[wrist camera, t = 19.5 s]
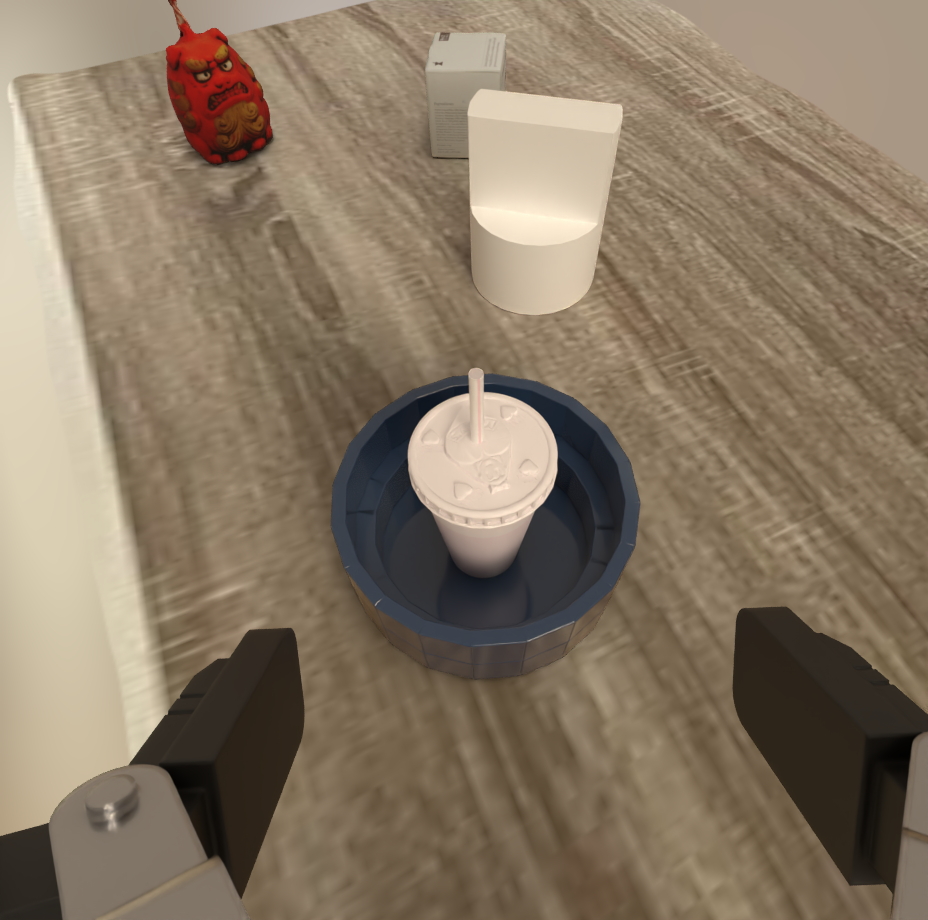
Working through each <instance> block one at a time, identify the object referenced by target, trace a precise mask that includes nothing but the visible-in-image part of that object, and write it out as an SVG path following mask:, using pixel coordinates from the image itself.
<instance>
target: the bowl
mask: <svg viewBox="0 0 928 920" xmlns="http://www.w3.org/2000/svg"><path fill="white" fill-rule="evenodd" d="M484 392H491V393H498V394H503V395H507V396H510V397H513V398H516V399H518V400H520V401H522V402H524V403H526V404H527V405H529V406H530V407H532V408H533V409H534V410H536V411H537V412H538V413H539V414H540V415H541V416H542V417H543V418H544V420H545V421H546V422H547V423H548V425H549V427H550V428H551V430H552V432H553V435H554V437H555V440H556V444H557V452H558V458H557V474H556V478H555V482H554V486H553V488H552V490H551V492H550V493H549V495H548V496H547V498H546V500H545V501H544V503H543V504H542V505H541V506H539V507H538V508H537V509H536V510H535V512H534V514H533V517H532V519H531V521H530V524H529V526H528V529H527V531H526V533H525V536H524V538H523V540H522V543H521V545H520V548H519V550H518V552H517V555H516V557H515V559H514V561H513V563H512V564H511V566H510V567H509V568H508V569H507V570H506V571H504V572H503V573H501V574H499V575H497V576H494V577H490V578H477V577H473V576H470V575H468V574H466V573H464V572H463V571H461V570H460V569H459V568H458V567H457V566H456V564H455V563H454V561H453V559H452V557H451V555H450V553H449V550H448V548H447V546H446V544H445V541H444V539H443V537H442V535H441V532H440V530H439V528H438V525H437V523H436V521H435V519H434V516H433V514H432V512H431V511H430V510H429V509H428V508H427V507H426V506H425V505H424V504H423V503H422V502H421V501H420V499H419V497H418V496H417V494H416V492H415V490H414V489H413V487H412V484H411V480H410V475H409V471H408V466H409V464H408V447H409V442H410V439H411V436H412V433H413V431H414V430H415V428H416V426H417V425H418V423H419V422H420V420H421V419H422V418H423V417H424V416H425V415H426V414H427V413H428V412H429V411H430V410H431V409H433V408H434V407H435V406H437V405H438V404H440V403H442V402H444V401H446V400H448V399H450V398H453V397H456V396H459V395H463V394H468V393H469V375H466V376H452V377H449V378H446V379H443V380H440V381H437V382H434V383H431V384H428V385H425V386H422V387H419V388H416V389H413V390H411V391H409V392H407V393H406V394H404V395H403V396H401V397H400V398H398V399H397V400H395V401H394V402H392V403H391V404H389V405H388V406H386V407H384V408H383V409H381V410H380V411H378V412H377V413H375V414H374V415H373V417H372V418H371V419H370V420H369V421H368V423H367V424H366V425H365V426H364V427H363V428H362V430H361V431H360V432H359V433H358V434H357V435H356V437H355V438H354V439H353V440H352V441H351V443H350V444H349V446H348V448H347V450H346V453H345V455H344V458H343V460H342V463H341V465H340V467H339V470H338V472H337V475H336V477H335V480H334V482H333V488H332V509H331V529H332V532H333V535H334V538H335V541H336V544H337V547H338V551H339V554H340V557H341V560H342V563H343V566H344V569H345V571H346V573H347V575H348V577H349V579H350V581H351V583H352V585H353V587H354V589H355V591H356V593H357V595H358V597H359V599H360V601H361V603H362V605H363V607H364V609H365V611H366V613H367V614H368V615H369V616H370V618H371V619H372V620H373V622H374V623H375V624H376V625H377V627H378V628H379V629H380V631H381V632H382V633H383V634H384V636H385V637H386V638H387V640H388V641H389V642H390V643H392V645H393V646H395V647H396V648H398V649H400V650H401V651H403V652H404V653H406V654H407V655H409V656H410V657H412V658H414V659H415V660H417V661H418V662H420V663H421V664H423V665H424V666H426V667H429V668H430V669H434V670H438V671H442V672H446V673H450V674H454V675H458V676H462V677H466V678H470V679H473V678H474V679H486V678H498V677H511V676H519V675H523V674H525V673H528V672H530V671H532V670H535V669H537V668H539V667H542V666H544V665H546V664H549V663H551V662H553V661H556V660H558V659H560V658H562V657H564V656H565V655H566V654H567V653H568V652H569V651H570V650H572V649H573V648H574V647H575V646H576V645H577V644H578V643H579V642H580V641H581V640H582V639H584V638H585V637H586V636H587V635H588V634H589V633H590V632H591V631H592V630H593V629H594V628H595V627H596V625H597V623H598V621H599V619H600V617H601V615H602V613H603V611H604V610H605V608H606V606H607V604H608V602H609V600H610V598H611V596H612V594H613V592H614V590H615V588H616V586H617V584H618V582H619V580H620V578H621V576H622V573H623V571H624V569H625V567H626V565H627V563H628V561H629V559H630V557H631V555H632V552H633V550H634V548H635V545H636V536H637V528H638V519H639V511H640V499H639V495H638V491H637V487H636V483H635V479H634V475H633V471H632V467H631V463H630V461H629V459H628V457H627V456H626V454H625V453H624V451H623V450H622V448H621V446H620V445H619V443H618V442H617V440H616V439H615V437H614V436H613V434H612V433H611V431H610V429H609V428H608V427H607V425H606V424H605V423H603V422H602V421H601V420H600V419H599V418H597V417H596V416H595V415H594V414H593V413H592V412H590V411H589V410H588V409H587V408H586V407H584V406H583V405H582V404H581V403H580V402H578V401H577V400H576V399H574V398H573V397H571V396H568V395H566V394H564V393H562V392H560V391H557V390H555V389H553V388H551V387H548V386H546V385H544V384H542V383H540V382H537V381H536V382H535V381H533V380H527V379H522V378H516V377H510V376H504V375H498V374H484Z"/></svg>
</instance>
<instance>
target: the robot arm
mask: <svg viewBox="0 0 928 920" xmlns="http://www.w3.org/2000/svg"><path fill="white" fill-rule="evenodd" d="M733 698H734V704H735V708H736V711H737V715H738V717H739V719H740V722H741V724H742V725H743V727H744V728H745V730H746V731H747V733H748V734H749V736H750V737H751V739H752V740H753V742H754V743H755V745H756V746H757V748H758V749H759V751H760V752H761V754H762V755H763V757H764V758H765V760H766V761H767V763H768V764H769V766H770V767H771V769H772V770H773V772H774V773H775V774H776V776H777V777H778V779H779V780H780V782H781V783H782V785H783V786H784V788H785V789H786V791H787V792H788V794H789V795H790V797H791V798H792V800H793V801H794V803H795V804H796V806H797V807H798V809H799V810H800V812H801V813H802V815H803V816H804V818H805V819H806V821H807V822H808V824H809V825H810V827H811V828H812V830H813V831H814V833H815V834H816V836H817V837H818V839H819V840H820V842H821V843H822V845H823V846H824V848H825V849H826V851H827V852H828V853H829V855H830V856H831V858H832V859H833V861H834V862H835V864H836V865H837V867H838V868H839V870H840V871H841V873H842V874H843V876H844V877H845V879H846V880H847V882H848V883H849V885H850V886H852V885H877V884H886V885H887V887H888V888H889V889H890V891H891V892H892V893H893V898H892V906H891V914H890V920H928V714H926V713H925V712H924V711H923V710H922V709H921V708H920V707H918V706H917V705H916V704H915V703H914V702H913V701H912V700H910V699H909V698H908V697H907V696H906V695H905V694H904V693H902V692H901V691H900V690H899V689H898V688H897V687H896V686H894V685H890V684H889V680H888V679H886V678H885V677H884V676H883V675H882V674H881V673H879V672H878V671H877V670H876V669H872V666H871V665H870V664H869V663H868V662H867V661H866V660H865V659H863V658H862V657H861V656H860V655H859V654H858V653H857V652H855V651H854V650H853V649H852V648H851V647H849V646H847V645H845V644H843V643H841V642H839V641H837V640H835V639H833V638H831V637H829V636H827V635H825V634H823V633H815V632H814V631H813V630H812V629H811V628H810V627H809V626H807V625H806V624H805V623H804V622H803V621H802V620H801V619H800V618H799V617H798V616H797V615H796V614H794V613H793V612H792V611H791V610H790V609H789V608H787V607H763V608H743V609H741V610H740V611H739V613H738V615H737V619H736V632H735V651H734V670H733ZM303 728H304V700H303V691H302V683H301V675H300V666H299V658H298V650H297V642H296V637H295V633H294V631H293V629H292V628H278V629H256V630H249V631H248V632H247V633H246V634H245V636H244V637H243V639H242V640H241V642H240V643H239V645H238V646H237V648H236V649H235V651H234V652H233V654H232V655H231V657H230V658H226V659H217V660H216V661H214V662H213V663H212V664H210V665H209V666H207V667H206V668H205V669H203V670H202V671H200V672H199V673H197V674H196V675H195V676H194V677H193V678H192V680H191V681H190V682H189V684H188V685H187V686H186V688H185V689H184V690H183V692H182V693H181V695H180V699H177V700H176V701H175V703H174V704H173V705H172V707H171V708H170V709H169V711H168V715H165V716H164V718H163V719H162V720H161V722H160V723H159V724H158V726H157V727H156V728H155V730H154V731H153V732H152V734H151V735H150V737H149V738H148V739H147V741H146V742H145V743H144V745H143V746H142V747H141V749H140V750H139V751H138V753H137V754H136V756H135V757H134V758H133V760H132V761H131V762H130V764H129V765H128V766H124V767H120V768H116V769H113V770H110V771H107V772H105V773H102V774H100V775H98V776H96V777H94V778H92V779H90V780H88V781H87V782H85V783H84V784H82V785H80V786H79V787H77V788H76V789H75V790H73V791H72V792H71V793H70V794H68V795H67V796H66V797H65V798H64V799H63V800H62V801H61V802H60V804H59V805H58V806H57V807H56V809H55V810H54V812H53V814H52V816H51V818H50V822H49V823H47V824H44V825H41V826H37V827H33V828H29V829H25V830H22V831H18V832H14V833H11V834H6V835H3V836H0V920H250V918H249V916H248V914H247V912H246V909H245V907H244V905H243V903H242V901H241V899H242V896H243V893H244V891H245V888H246V885H247V883H248V880H249V877H250V875H251V872H252V869H253V867H254V864H255V862H256V859H257V856H258V854H259V851H260V848H261V846H262V843H263V840H264V838H265V835H266V832H267V830H268V827H269V825H270V822H271V819H272V817H273V814H274V811H275V809H276V806H277V803H278V801H279V798H280V795H281V793H282V790H283V787H284V785H285V782H286V780H287V777H288V774H289V772H290V769H291V766H292V764H293V761H294V758H295V756H296V753H297V750H298V748H299V745H300V742H301V739H302V734H303Z"/></svg>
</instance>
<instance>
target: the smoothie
mask: <svg viewBox="0 0 928 920" xmlns="http://www.w3.org/2000/svg"><path fill="white" fill-rule="evenodd" d="M468 375H469V393H468V394H463V395H459V396H456V397H453V398H450V399H448V400H446V401H444V402H442V403H440V404H438V405H437V406H435V407H434V408H433V409H431V410H430V411H429V412H428V413H427V414H426V415H425V416H424V417H423V418H422V419H421V420H420V422H419V423H418V425H417V426H416V428H415V430H414V431H413V433H412V436H411V439H410V442H409V447H408V464H409V466H408V471H409V475H410V480H411V484H412V487H413V489H414V490H415V492H416V494H417V496H418V497H419V499H420V501H421V502H422V503H423V504H424V505H425V506H426V507H427V508H428V509H429V510H430V511H431V512H432V514H433V516H434V519H435V521H436V523H437V525H438V528H439V530H440V532H441V535H442V537H443V539H444V541H445V544H446V546H447V548H448V550H449V553H450V555H451V557H452V559H453V561H454V563H455V564H456V566H457V567H458V568H459V569H460V570H461V571H463V572H464V573H466V574H468V575H470V576H473V577H477V578H490V577H494V576H497V575H499V574H501V573H503V572H504V571H506V570H507V569H508V568H509V567H510V566H511V564H512V563H513V561H514V559H515V557H516V555H517V552H518V550H519V548H520V545H521V543H522V540H523V538H524V536H525V533H526V531H527V529H528V526H529V524H530V521H531V519H532V517H533V514H534V512H535V510H536V509H537V508H538V507H539V506H541V505H542V504H543V503H544V501H545V500H546V498H547V496H548V495H549V493H550V492H551V490H552V488H553V486H554V482H555V478H556V474H557V458H558V452H557V444H556V440H555V437H554V435H553V432H552V430H551V428H550V427H549V425H548V423H547V422H546V421H545V420H544V418H543V417H542V416H541V415H540V414H539V413H538V412H537V411H536V410H534V409H533V408H532V407H530V406H529V405H527V404H526V403H524V402H522V401H520V400H518V399H516V398H513V397H510V396H507V395H503V394H498V393H491V392H484V373H483V371H482V370H481V369H479V368H473V369H471V370H470V371H469V374H468Z"/></svg>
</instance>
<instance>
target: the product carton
mask: <svg viewBox="0 0 928 920" xmlns="http://www.w3.org/2000/svg"><path fill="white" fill-rule="evenodd" d="M505 78H506V34H504V33H488V32H487V33H435V35H434V37H433V41H432V44H431V47H430V49H429V53H428V58H427V62H426V67H425V79H426V93H427V105H428V118H429V131H430V142H431V154H432V156H433V157H446V158H447V157H449V158H469V151H468V108H469V104H470V101H471V100H472V98H473V97H474V95H475V94H476V93H477V91H479V90H480V89H488V90H497V91H505Z"/></svg>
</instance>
